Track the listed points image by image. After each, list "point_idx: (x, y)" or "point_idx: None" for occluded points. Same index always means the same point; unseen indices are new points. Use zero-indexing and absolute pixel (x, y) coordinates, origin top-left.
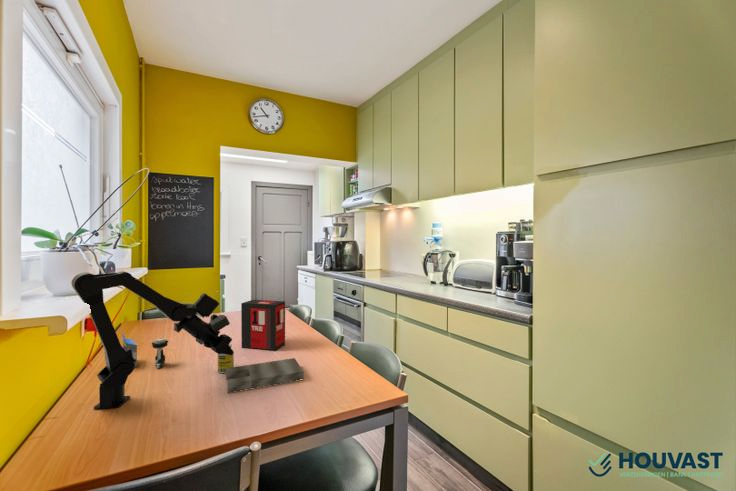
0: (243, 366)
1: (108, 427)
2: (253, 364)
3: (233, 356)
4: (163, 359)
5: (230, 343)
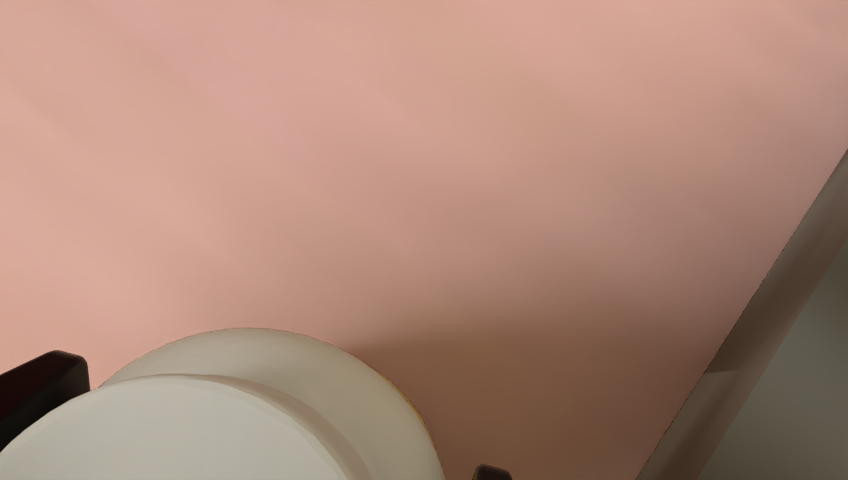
0: (768, 459)
1: None
2: (838, 290)
3: (409, 403)
4: None
5: (228, 411)
